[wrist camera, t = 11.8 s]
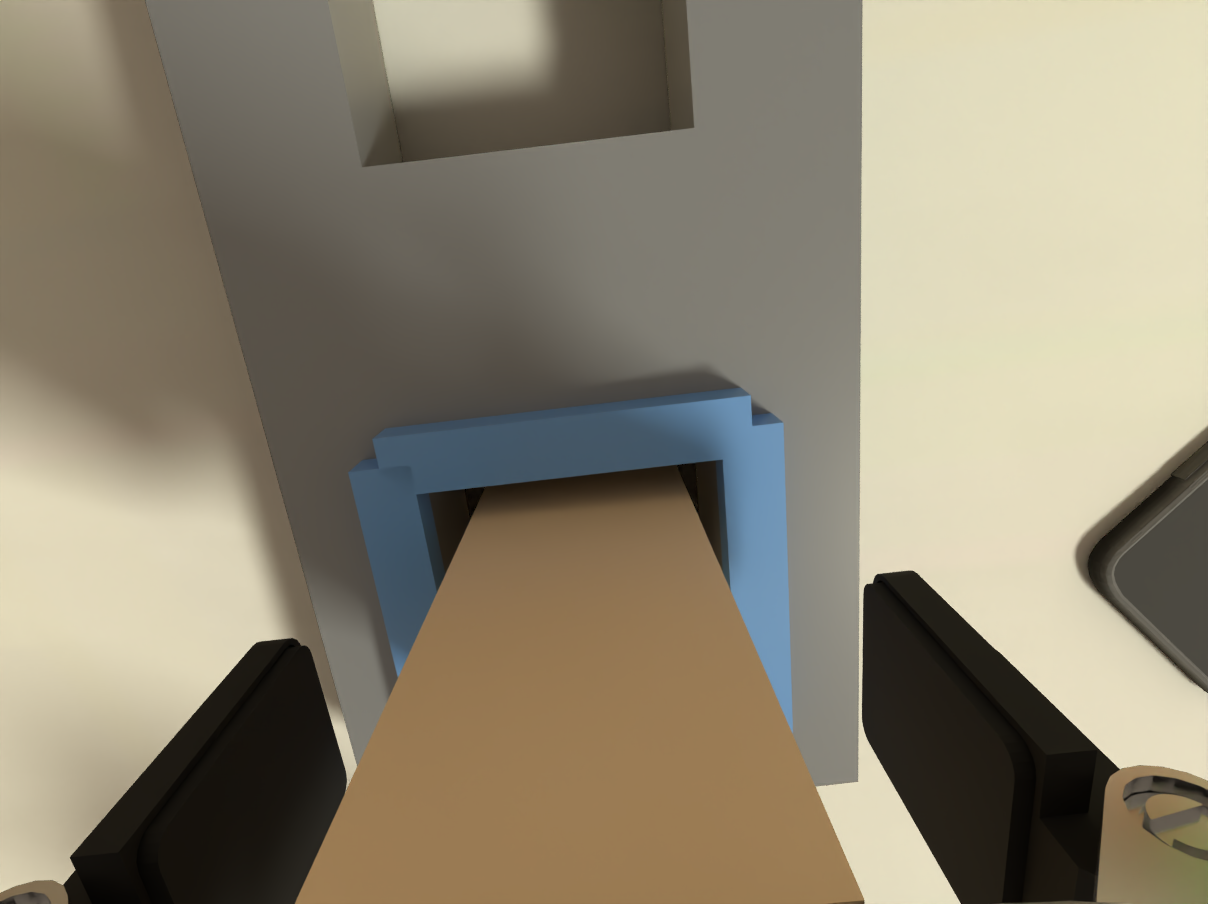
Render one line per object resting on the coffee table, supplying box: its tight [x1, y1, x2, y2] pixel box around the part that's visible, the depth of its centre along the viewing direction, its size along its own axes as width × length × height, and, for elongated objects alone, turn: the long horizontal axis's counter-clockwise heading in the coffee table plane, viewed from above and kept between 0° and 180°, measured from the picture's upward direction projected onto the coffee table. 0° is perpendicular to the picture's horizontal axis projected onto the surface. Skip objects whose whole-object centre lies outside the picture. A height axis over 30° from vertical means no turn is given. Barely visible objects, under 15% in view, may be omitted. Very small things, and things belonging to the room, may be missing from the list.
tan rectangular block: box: [295, 465, 864, 904], centre depth 11 cm, size 4×4×12 cm
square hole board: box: [145, 0, 862, 786], centre depth 13 cm, size 24×12×4 cm, turn 6°
